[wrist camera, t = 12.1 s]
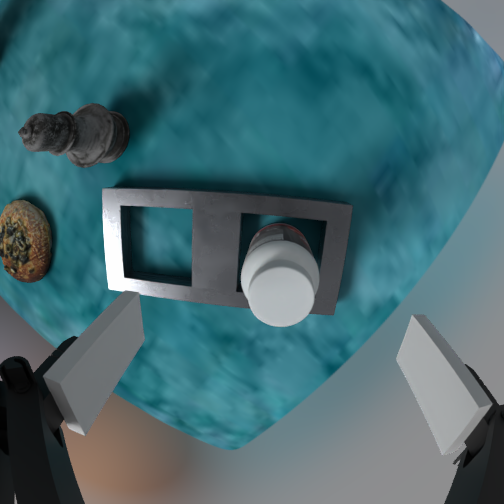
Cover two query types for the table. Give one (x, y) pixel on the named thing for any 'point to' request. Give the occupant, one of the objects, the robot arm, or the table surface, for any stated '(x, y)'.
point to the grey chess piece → (78, 134)
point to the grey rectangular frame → (219, 242)
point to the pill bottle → (280, 275)
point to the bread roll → (25, 241)
